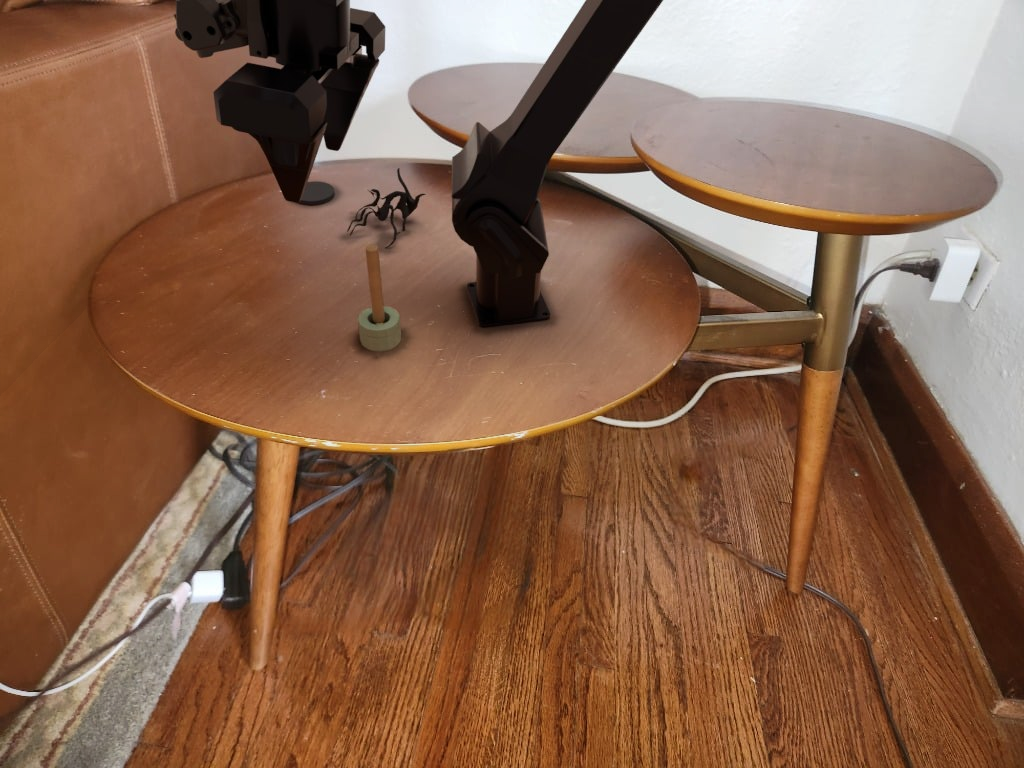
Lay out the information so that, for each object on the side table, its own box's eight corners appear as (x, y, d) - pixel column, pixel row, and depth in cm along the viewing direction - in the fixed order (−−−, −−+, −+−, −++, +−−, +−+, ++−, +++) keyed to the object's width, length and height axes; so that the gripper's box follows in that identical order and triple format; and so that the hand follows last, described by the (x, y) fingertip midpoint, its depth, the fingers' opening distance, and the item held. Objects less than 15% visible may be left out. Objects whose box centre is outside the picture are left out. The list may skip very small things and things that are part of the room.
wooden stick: (387, 342, 66) (379, 251, 60) (375, 344, 66) (366, 252, 60) (385, 332, 67) (377, 241, 61) (373, 333, 67) (364, 243, 61)
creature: (369, 266, 77) (439, 231, 79) (352, 222, 73) (426, 186, 75) (339, 229, 82) (406, 197, 84) (322, 185, 78) (393, 153, 80)
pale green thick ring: (404, 350, 66) (402, 327, 64) (362, 356, 65) (359, 332, 63) (398, 326, 68) (396, 303, 67) (358, 331, 68) (355, 307, 66)
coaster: (336, 203, 84) (335, 199, 83) (293, 206, 83) (293, 202, 82) (333, 183, 87) (332, 179, 87) (292, 187, 86) (291, 182, 86)
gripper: (244, -93, 59) (261, 109, 69) (110, -33, 45) (157, 210, 55) (389, -66, 58) (384, 133, 69) (300, 4, 44) (311, 241, 55)
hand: (314, 173), depth 62 cm, fingers open, 9 cm apart
